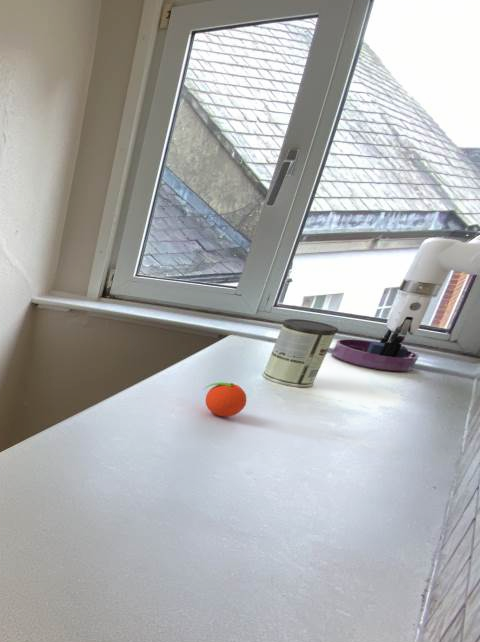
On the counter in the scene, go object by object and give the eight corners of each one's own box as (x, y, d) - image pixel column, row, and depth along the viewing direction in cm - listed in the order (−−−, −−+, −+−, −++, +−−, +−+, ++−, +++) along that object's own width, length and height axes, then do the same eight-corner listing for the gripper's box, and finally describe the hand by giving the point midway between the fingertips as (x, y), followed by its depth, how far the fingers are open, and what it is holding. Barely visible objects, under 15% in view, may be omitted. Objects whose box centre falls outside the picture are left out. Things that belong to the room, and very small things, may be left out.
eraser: (399, 356, 151) (404, 346, 149) (402, 360, 147) (408, 350, 146) (366, 351, 154) (371, 340, 153) (368, 355, 151) (374, 344, 149)
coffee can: (265, 369, 142) (287, 316, 136) (314, 380, 136) (340, 325, 130) (258, 378, 136) (281, 323, 129) (309, 391, 129) (336, 333, 123)
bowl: (404, 361, 155) (411, 347, 153) (417, 377, 142) (425, 363, 140) (327, 348, 163) (333, 335, 162) (333, 362, 151) (340, 348, 149)
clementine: (196, 416, 113) (208, 384, 110) (193, 404, 118) (204, 374, 115) (241, 425, 110) (255, 392, 107) (236, 412, 115) (249, 381, 112)
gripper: (447, 296, 134) (408, 366, 142) (431, 286, 147) (396, 351, 155) (406, 291, 138) (371, 359, 146) (394, 281, 150) (362, 345, 159)
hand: (384, 354), depth 150 cm, fingers closed on eraser, 4 cm apart
